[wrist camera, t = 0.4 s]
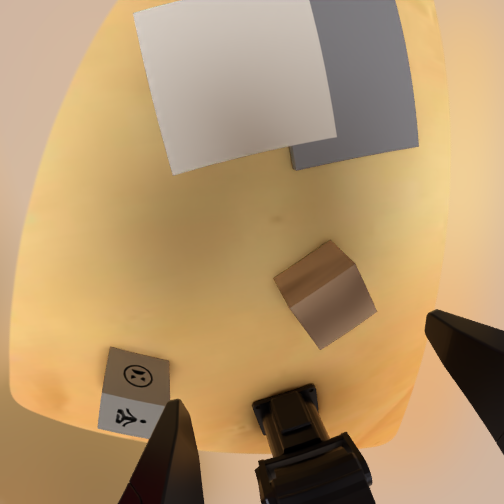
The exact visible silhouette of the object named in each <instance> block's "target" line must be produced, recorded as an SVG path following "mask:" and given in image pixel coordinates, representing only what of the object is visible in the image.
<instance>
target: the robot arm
mask: <svg viewBox="0 0 504 504" xmlns="http://www.w3.org/2000/svg"><path fill="white" fill-rule="evenodd" d="M425 334H426V337H427V338H428V340H429V341H430V343H431V345H432V347H433V348H434V350H435V352H436V353H437V355H438V357H439V358H440V360H441V362H442V363H443V365H444V367H445V368H446V370H447V371H448V372H449V374H450V375H451V376H452V378H453V379H454V380H455V382H456V383H457V385H458V386H459V388H460V389H461V390H462V392H463V393H464V395H465V396H466V398H467V399H468V401H469V402H470V403H471V405H472V406H473V408H474V409H475V411H476V412H477V414H478V415H479V417H480V418H481V420H482V421H483V423H484V424H485V426H486V427H487V429H488V430H489V432H490V433H491V435H492V436H493V438H494V440H495V441H496V442H497V445H498V446H499V448H500V450H501V451H502V453H503V454H504V331H503V330H499V329H497V328H494V327H490V326H487V325H484V324H481V323H478V322H475V321H472V320H469V319H466V318H463V317H460V316H456V315H453V314H450V313H447V312H444V311H441V310H438V309H436V310H433V311H431V312H429V313H428V314H427V317H426V324H425ZM252 407H253V410H254V413H255V415H256V418H257V420H258V423H259V425H260V428H261V430H262V433H263V435H266V436H267V439H268V443H269V446H270V449H271V452H272V455H273V458H270V459H266V460H259V461H258V462H259V467H258V468H257V469H255V473H256V477H257V480H258V485H259V492H260V499H261V503H262V504H375V500H374V498H373V495H372V493H371V490H370V488H369V486H370V485H372V476H371V473H370V470H369V467H368V465H367V463H366V461H365V459H364V457H363V456H362V455H361V453H360V451H359V450H358V448H357V447H356V445H355V444H354V442H353V441H352V439H351V438H350V436H349V435H348V433H347V432H344V433H341V435H339V436H336V437H333V438H331V439H330V438H329V435H328V433H327V431H326V429H325V427H324V425H323V422H322V420H321V418H320V416H319V412H318V402H317V392H316V388H315V386H314V385H312V384H311V385H308V386H305V387H302V388H299V389H296V390H293V391H290V392H287V393H284V394H281V395H278V396H274V397H271V398H268V399H264V400H261V401H258V402H255V403H253V404H252ZM129 482H130V483H128V484H127V487H126V489H125V491H124V493H123V495H122V497H121V499H120V500H119V503H118V504H204V498H203V490H202V481H201V471H200V462H199V455H198V450H197V445H196V441H195V436H194V432H193V427H192V422H191V418H190V415H189V412H188V411H187V409H186V407H185V406H184V404H183V403H182V401H181V400H180V399H174V400H170V401H168V402H167V403H166V405H165V408H164V410H163V412H162V414H161V416H160V418H159V420H158V422H157V424H156V426H155V428H154V430H153V432H152V434H151V437H150V439H149V441H148V443H147V445H146V447H145V449H144V451H143V453H142V455H141V458H140V459H139V462H138V464H137V466H136V468H135V470H134V472H133V474H132V476H131V478H130V481H129Z"/></svg>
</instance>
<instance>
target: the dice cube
mask: <svg viewBox="0 0 504 504" xmlns="http://www.w3.org/2000/svg"><path fill="white" fill-rule="evenodd" d="M168 401H170V379H169V361H168V360H163V359H159V358H154V357H150V356H145V355H141V354H137V353H133V352H129V351H125V350H121V349H117V348H114V347H110V350H109V355H108V361H107V366H106V372H105V377H104V383H103V389H102V396H101V404H100V411H99V420H98V428H99V429H103V430H107V431H111V432H116V433H121V434H126V435H131V436H136V437H141V438H147V439H150V437H151V434H152V432H153V430H154V428H155V426H156V424H157V422H158V420H159V418H160V416H161V414H162V412H163V410H164V408H165V405H166V403H167V402H168Z"/></svg>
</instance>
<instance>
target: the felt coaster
mask: <svg viewBox="0 0 504 504" xmlns="http://www.w3.org/2000/svg"><path fill="white" fill-rule="evenodd" d="M309 1H310V5H311V9H312V13H313V17H314V21H315V25H316V29H317V33H318V38H319V42H320V47H321V51H322V56H323V61H324V65H325V70H326V76H327V81H328V86H329V92H330V97H331V103H332V109H333V115H334V121H335V128H336V134H337V137H334V138H329V139H323V140H318V141H313V142H308V143H303V144H298V145H293V146H289V148H290V153H291V159H292V165H293V169H294V170H296V171H297V170H301V169H306V168H310V167H315V166H319V165H324V164H329V163H333V162H338V161H343V160H348V159H353V158H358V157H363V156H368V155H374V154H379V153H384V152H390V151H396V150H401V149H407V148H413V147H419V143H418V130H417V119H416V110H415V101H414V93H413V86H412V79H411V73H410V67H409V61H408V55H407V50H406V45H405V40H404V35H403V31H402V26H401V22H400V18H399V14H398V10H397V6H396V2H395V0H309Z"/></svg>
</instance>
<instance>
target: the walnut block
mask: <svg viewBox="0 0 504 504" xmlns="http://www.w3.org/2000/svg"><path fill="white" fill-rule="evenodd" d="M274 280H275V282H276V284H277V286H278V288H279V290H280V291H281V293H282V295H283V297H284V299H285V301H286V303H287V305H288V306H289V308H290V310H291V311H292V312H293V314H294V315H295V316H296V318H297V319H298V321H299V322H300V323H301V325H302V326H303V327H304V329H305V330H306V331H307V333H308V334H309V335H310V337H311V338H312V340H313V341H314V342H315V344H316V345H317V346H318V348H319V349H320V350H321V349H323V348H325V347H326V346H328V345H329V344H331V343H332V342H334V341H335V340H337V339H338V338H340V337H341V336H343V335H344V334H346V333H347V332H349V331H350V330H352V329H353V328H355V327H356V326H358V325H359V324H360V323H362V322H363V321H365V320H366V319H368V318H369V317H370V316H372V315H373V314H375V313H376V312H377V310H376V308H375V306H374V303H373V301H372V299H371V297H370V295H369V292H368V290H367V288H366V286H365V284H364V281H363V279H362V277H361V275H360V273H359V271H358V269H357V266H356V264H355V263H354V262H353V261H352V260H351V259H350V258H349V257H348V256H347V255H346V254H345V253H344V252H343V251H341V250H340V249H339V248H338V247H337V246H336V245H335V244H334V243H333V242H332V241H331V240H330V241H328V242H327V243H325V244H324V245H322V246H321V247H319V248H318V249H316V250H315V251H313V252H312V253H310V254H309V255H308V256H306V257H305V258H303V259H302V260H300V261H299V262H297V263H296V264H294V265H293V266H291V267H290V268H288V269H287V270H285V271H284V272H282V273H281V274H279V275H278V276H276V277H275V278H274Z"/></svg>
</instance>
